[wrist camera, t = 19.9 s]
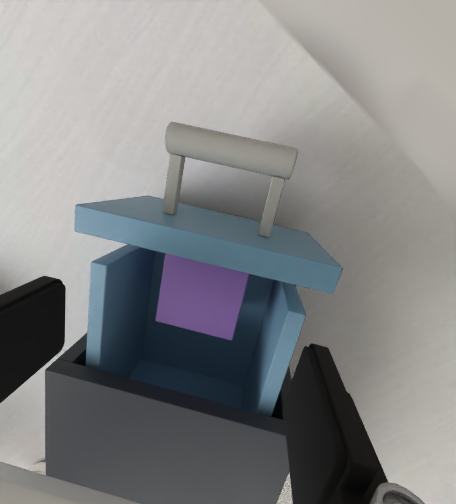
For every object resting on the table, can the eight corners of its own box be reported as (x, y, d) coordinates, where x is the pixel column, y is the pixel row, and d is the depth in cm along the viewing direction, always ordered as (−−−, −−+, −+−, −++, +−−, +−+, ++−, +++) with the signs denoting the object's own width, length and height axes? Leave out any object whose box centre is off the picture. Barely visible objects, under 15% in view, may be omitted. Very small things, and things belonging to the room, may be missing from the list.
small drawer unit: (134, 290, 21) (44, 369, 12) (283, 328, 20) (302, 440, 11) (119, 420, 25) (45, 549, 16) (242, 455, 24) (233, 608, 16)
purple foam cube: (189, 230, 17) (165, 246, 12) (253, 245, 16) (251, 267, 12) (179, 288, 18) (154, 321, 14) (238, 303, 18) (232, 341, 14)
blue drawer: (155, 129, 16) (78, 90, 9) (328, 167, 16) (385, 155, 9) (129, 352, 21) (67, 435, 14) (259, 387, 21) (260, 491, 14)
